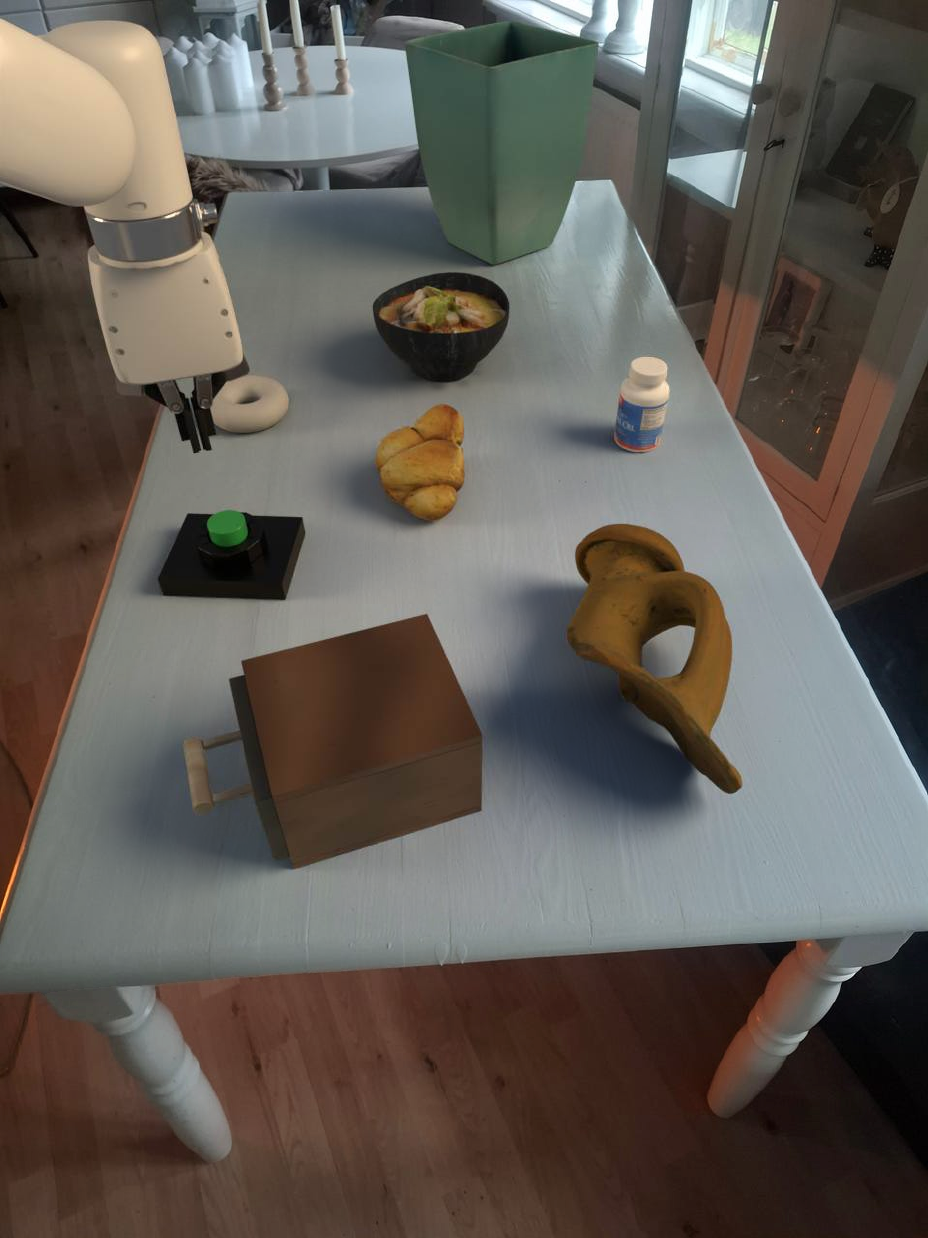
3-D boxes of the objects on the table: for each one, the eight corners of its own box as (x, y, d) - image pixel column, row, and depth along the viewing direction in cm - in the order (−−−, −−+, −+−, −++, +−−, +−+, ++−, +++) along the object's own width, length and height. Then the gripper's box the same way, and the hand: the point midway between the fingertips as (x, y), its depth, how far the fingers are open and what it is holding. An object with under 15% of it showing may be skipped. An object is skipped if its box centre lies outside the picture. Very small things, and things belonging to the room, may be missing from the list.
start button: (206, 546, 83) (202, 532, 81) (216, 523, 85) (212, 509, 84) (243, 548, 82) (239, 533, 81) (252, 524, 85) (248, 510, 84)
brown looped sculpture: (472, 697, 64) (558, 491, 76) (524, 783, 73) (594, 588, 85) (724, 726, 55) (778, 487, 67) (749, 820, 64) (792, 596, 76)
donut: (297, 395, 109) (219, 393, 109) (294, 370, 106) (213, 368, 107) (282, 440, 102) (198, 437, 102) (278, 414, 99) (192, 412, 100)
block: (162, 595, 83) (151, 564, 80) (192, 529, 90) (183, 498, 87) (285, 600, 83) (278, 569, 80) (305, 533, 90) (300, 502, 87)
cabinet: (294, 869, 63) (271, 796, 56) (263, 738, 71) (240, 660, 64) (482, 810, 66) (482, 735, 59) (431, 691, 74) (427, 613, 68)
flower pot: (412, 240, 142) (401, 38, 122) (505, 211, 150) (510, 17, 130) (487, 282, 131) (489, 66, 111) (584, 248, 139) (602, 42, 119)
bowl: (529, 351, 116) (532, 278, 109) (471, 413, 105) (470, 336, 98) (418, 324, 121) (415, 253, 114) (353, 381, 111) (344, 306, 104)
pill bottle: (605, 433, 102) (614, 357, 95) (645, 424, 103) (657, 348, 96) (627, 458, 98) (638, 381, 91) (668, 448, 100) (683, 372, 93)
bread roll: (468, 528, 90) (468, 465, 84) (375, 532, 90) (368, 468, 84) (463, 457, 99) (462, 395, 93) (378, 460, 99) (372, 398, 93)
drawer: (214, 880, 61) (188, 821, 56) (194, 755, 69) (169, 693, 63) (450, 807, 65) (448, 745, 60) (407, 697, 73) (401, 633, 67)
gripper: (240, 198, 67) (277, 407, 80) (37, 223, 63) (109, 437, 76) (257, 234, 62) (293, 450, 75) (37, 262, 58) (115, 484, 71)
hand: (200, 443), depth 76 cm, fingers closed
